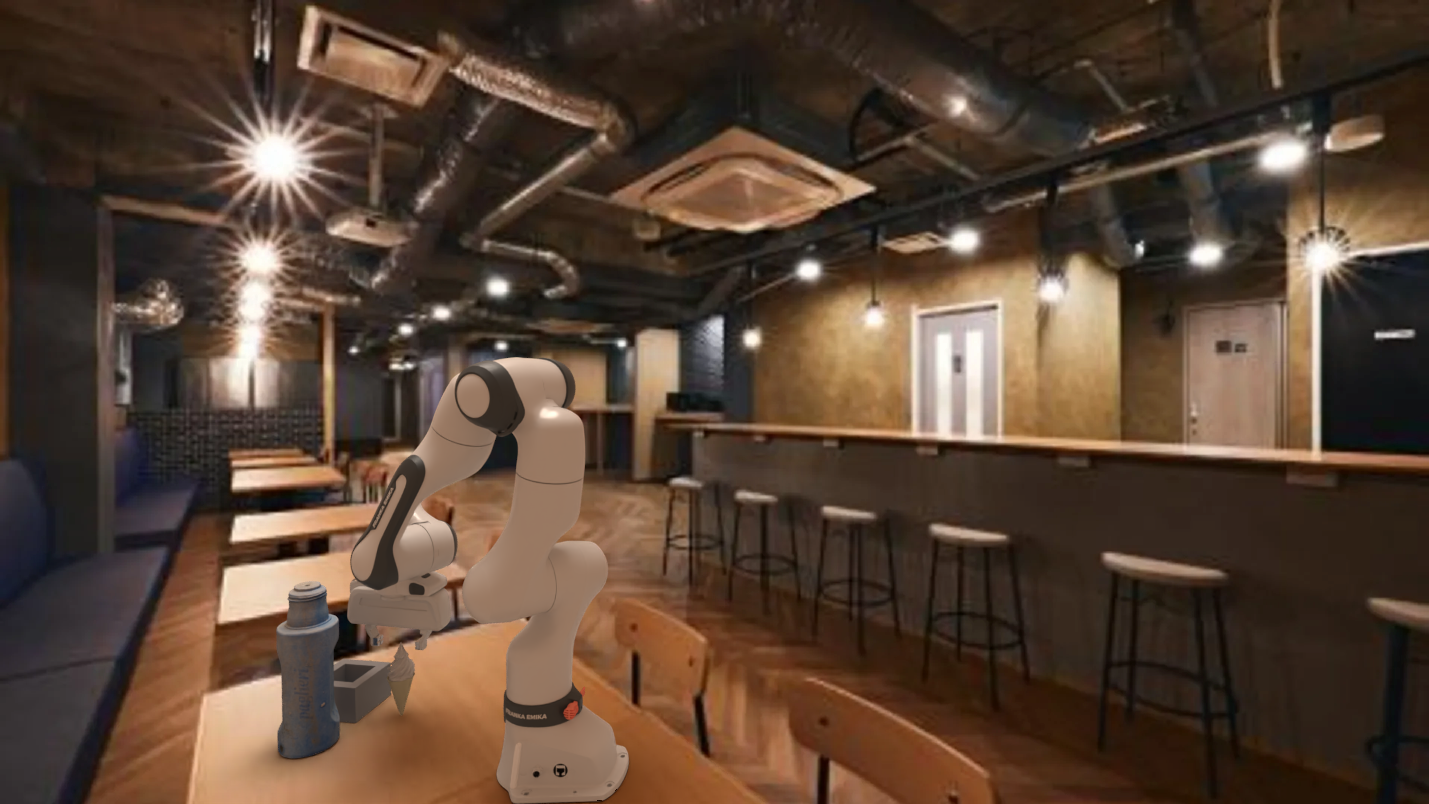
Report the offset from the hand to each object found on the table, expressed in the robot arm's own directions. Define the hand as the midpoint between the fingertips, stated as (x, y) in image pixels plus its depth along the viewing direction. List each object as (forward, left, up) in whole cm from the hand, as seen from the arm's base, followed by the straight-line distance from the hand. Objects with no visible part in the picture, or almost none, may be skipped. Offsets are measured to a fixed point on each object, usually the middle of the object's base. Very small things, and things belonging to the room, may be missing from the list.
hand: (399, 646), depth 127 cm
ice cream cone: (-1, 0, -14) cm, 14 cm away
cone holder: (+12, -1, -14) cm, 18 cm away
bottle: (+10, +12, -14) cm, 21 cm away
